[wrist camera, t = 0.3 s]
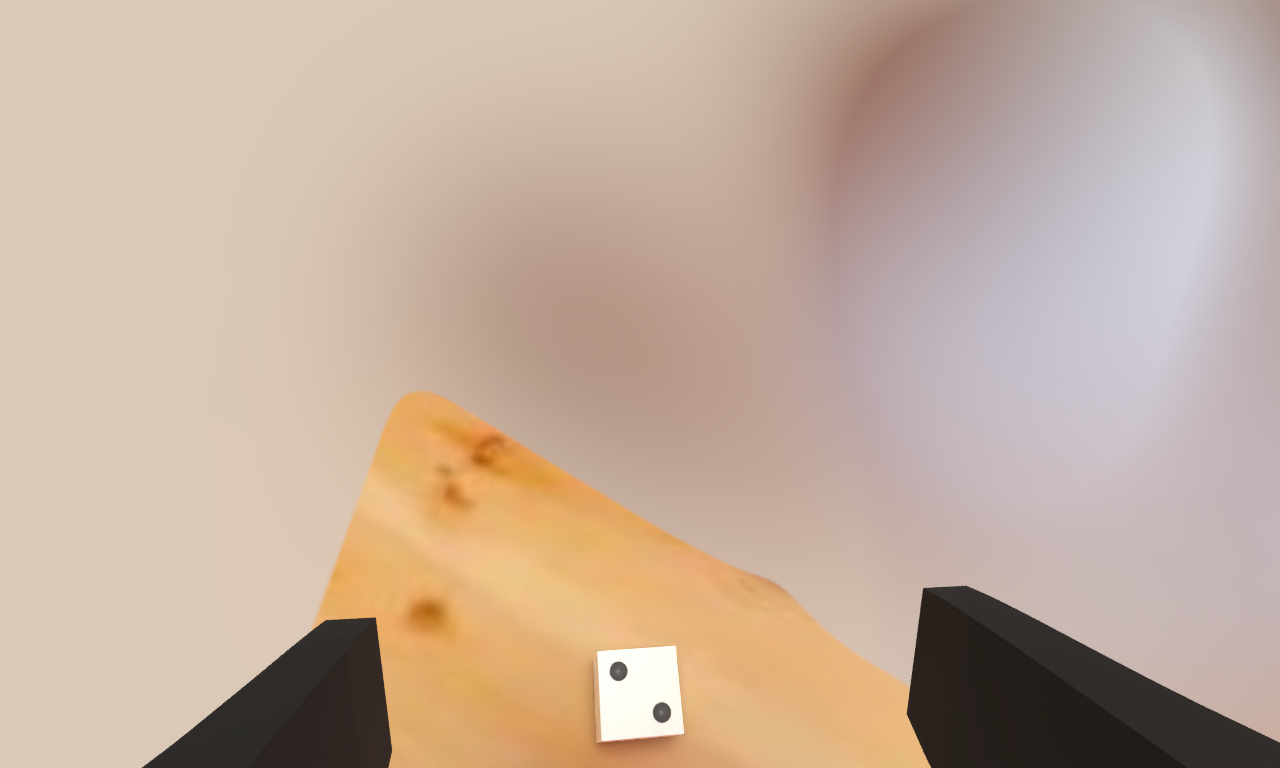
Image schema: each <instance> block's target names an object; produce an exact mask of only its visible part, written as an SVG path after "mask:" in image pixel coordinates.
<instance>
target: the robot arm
mask: <svg viewBox="0 0 1280 768" xmlns="http://www.w3.org/2000/svg"><path fill="white" fill-rule="evenodd" d="M907 716H908V718H909V720H910V722H911V725H912V727H913V729H914V731H915V734H916V736H917V738H918V740H919V743H920V745H921V747H922V749H923V752H924V754H925V756H926V758H927V760H928V762H929V764H930V766H931V768H1280V743H1279V742H1277V741H1275V740H1273V739H1271V738H1269V737H1267V736H1265V735H1262V734H1261V733H1258V732H1256V731H1254V730H1252V729H1250V728H1248V727H1246V726H1244V725H1241V724H1240V723H1238V722H1236V721H1233V720H1231V719H1229V718H1227V717H1225V716H1223V715H1221V714H1219V713H1217V712H1215V711H1212V710H1211V709H1208V708H1206V707H1204V706H1202V705H1200V704H1198V703H1196V702H1194V701H1192V700H1190V699H1188V698H1186V697H1184V696H1182V695H1180V694H1178V693H1176V692H1174V691H1172V690H1170V689H1168V688H1166V687H1164V686H1162V685H1160V684H1158V683H1156V682H1155V681H1152V680H1151V679H1148V678H1146V677H1145V676H1143V675H1141V674H1139V673H1137V672H1135V671H1133V670H1131V669H1129V668H1127V667H1126V666H1124V665H1122V664H1120V663H1118V662H1116V661H1114V660H1112V659H1110V658H1108V657H1106V656H1104V655H1103V654H1101V653H1099V652H1097V651H1095V650H1093V649H1091V648H1089V647H1087V646H1085V645H1084V644H1082V643H1080V642H1078V641H1076V640H1074V639H1072V638H1070V637H1069V636H1067V635H1065V634H1063V633H1060V632H1059V631H1057V630H1055V629H1053V628H1051V627H1049V626H1048V625H1046V624H1044V623H1042V622H1040V621H1038V620H1036V619H1034V618H1032V617H1030V616H1029V615H1027V614H1025V613H1022V612H1021V611H1019V610H1017V609H1015V608H1013V607H1011V606H1009V605H1007V604H1005V603H1003V602H1001V601H999V600H997V599H995V598H993V597H991V596H988V595H986V594H984V593H982V592H979V591H977V590H975V589H973V588H970V587H968V586H954V587H935V588H923V594H922V601H921V609H920V617H919V624H918V632H917V639H916V648H915V656H914V663H913V670H912V678H911V685H910V693H909V701H908V708H907ZM391 753H392V746H391V737H390V729H389V721H388V713H387V705H386V697H385V689H384V681H383V673H382V664H381V656H380V648H379V640H378V632H377V624H376V618H358V619H340V620H326V621H324V622H323V623H321V624H320V625H319V626H317V627H316V628H315V629H313V630H312V631H311V632H310V633H308V634H307V635H306V636H305V637H303V638H302V639H301V640H300V641H299V642H297V643H296V644H295V645H294V646H292V647H291V648H290V649H289V650H287V651H286V652H285V653H284V654H283V655H281V656H280V657H279V658H278V659H277V660H275V661H274V662H273V663H272V664H271V665H269V666H268V667H267V668H266V669H265V670H263V671H262V672H261V673H260V674H259V675H257V676H256V677H255V678H254V679H253V680H251V681H250V682H249V683H248V684H247V685H245V686H244V687H243V688H242V689H241V690H239V691H238V692H237V693H236V694H234V695H233V696H232V697H231V698H230V699H228V700H227V701H226V702H224V703H223V704H222V705H221V706H220V707H219V708H217V709H216V710H215V711H213V712H212V713H211V714H210V715H209V716H207V717H206V718H205V719H204V720H202V721H201V722H200V723H199V724H197V725H196V726H195V727H194V728H193V729H191V730H190V731H189V732H188V733H186V734H185V735H184V736H183V737H181V738H180V739H179V740H178V741H176V742H175V743H174V744H173V745H171V746H170V747H169V748H167V749H166V750H165V751H163V752H162V753H161V754H159V755H158V756H157V757H156V758H154V759H153V760H152V761H150V762H149V763H148V764H146V765H145V766H144V767H142V768H388V767H389V762H390V758H391Z"/></svg>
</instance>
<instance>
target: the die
mask: <svg viewBox="0 0 1280 768" xmlns="http://www.w3.org/2000/svg"><path fill="white" fill-rule="evenodd" d="M593 673H594V696H595V719H596V743H603V742H614V741H625V740H636V739H648V738H659V737H670V736H676V735H681V734H684V727H683V717H682V707H681V697H680V687H679V677H678V667H677V657H676V647H675V646H666V647H652V648H638V649H624V650H609V651H597V654H596V656H595V658H594V660H593Z"/></svg>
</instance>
